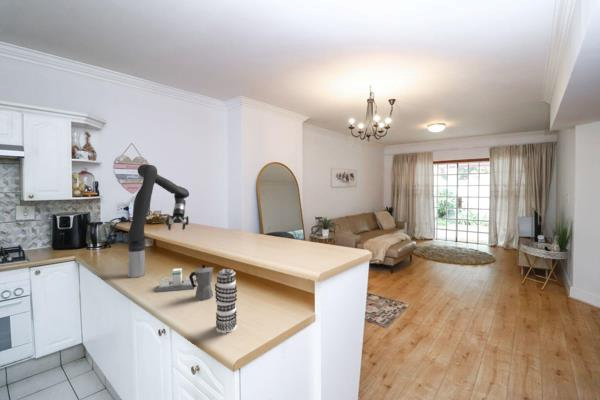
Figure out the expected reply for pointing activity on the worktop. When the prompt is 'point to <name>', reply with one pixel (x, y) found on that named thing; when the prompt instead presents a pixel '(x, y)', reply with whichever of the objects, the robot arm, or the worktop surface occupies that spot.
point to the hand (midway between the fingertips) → (176, 229)
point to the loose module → (177, 277)
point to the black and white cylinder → (226, 301)
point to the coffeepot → (203, 282)
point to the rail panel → (168, 286)
